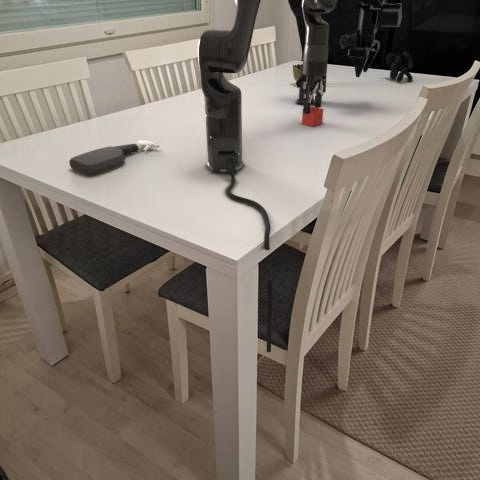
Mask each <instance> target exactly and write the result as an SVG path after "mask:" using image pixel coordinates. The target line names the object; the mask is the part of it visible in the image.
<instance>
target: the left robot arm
mask: <svg viewBox="0 0 480 480" xmlns="http://www.w3.org/2000/svg"><path fill="white" fill-rule="evenodd" d="M261 1H262V0H233V3H234V5H235V11H236V12H235V19H234V23H233V26H232V28H231V30H228V29H227V30H225V29H206V30H204V31H203V32H202V33H201V34H200V37H199V39H198V46H197V58H198V59H197V60H198V69H199V77H200V88H201V92H202V94H203V99H204V100H203V101H204V116H205V117H204V118H205V133H206V134H205V135H206V151H207V152H206V153H207V168H208V169H209V170H211V172H212V173H228V174H229V176H230V184H229V186H227V187H226V189H225V193H226V195H227V196H228V197H230V198H231V199H232V200H235V201H238V202H242V203H245V204H249V205H251V206H254V207H255V208H256V209H258V210H259V211H260V212H261V214H262V216H263V219H264V224H265V230H264V238H263V245H264V246H263V247H264V250H265V251H270V249H271V247H270V234H271V222H270V219H269V214H268V212H267V211H266V209H265V208H264V207H263V206H262V205H261V204H260V203H258V202H257V201H255V200H253V199H250V198H247V197H243V196H239V195H236V194H234V193H232V191H231V190H232V189H233V188H234V186H235V185H236V177H235V174H234V173H237V171H239V170H240V169H242V168H243V166H244V160H243V114H242V113H243V109H242V108H243V106H242V105H243V104H242V103H243V102H242V101H243V100H242V99H243V98H242V96H243V95H242V90H241V88H240V87H239V86H237V85H235V84H233V83H232V82H230V81H229V80H228V79H227V78H226V76H225V74H231V75H237V74H240V73H241V72H242V71H243V70H244V68H245V66H246V64H247V61H248V58H249V56H250V55H249V54H250V51H251V45H252V39H253V35H254V29H255V25H256V19H257V16H258V13H259V9H260V5H261ZM337 4H338V0H302V9H303V15H304V21H305V26H306V39H305V48H304V60H303V59H302V64H303V74H304V75H306V76H307V80H306V82H302V83H301V93H300V101H302V102H304V104H302V105H303V107H302V108H303V109H302V114H303V113H304V114H310V107H312V106H311V105H312V104H311V103H310V102H311V99H312V97H313V96H314V101H315V104H313V105H314V106H313V107H316V108H322V103H323V102H322V101H323V96H324V94H326V91H327V73H328V63H329V38H330V25H329V23H328V22H327V21H325V20H324V19H322V14H328V13H331V12H333V11H334V10H335V8H336V6H337ZM303 94H304V97H303ZM266 290H267V291H266V293H267V295H266V296H267V299H266V302H267V308H266V309H267V310H266V352H267V353H271V352H272V329H273V327H272V326H273V324H272V323H273V280H272V279H266Z"/></svg>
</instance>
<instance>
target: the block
mask: <svg viewBox="0 0 480 480" xmlns="http://www.w3.org/2000/svg"><path fill="white" fill-rule="evenodd" d="M323 117H324V109H323V108H322V107H320V108H317V107H315V106H311V107H310V114H304V113H303V112H302V113H301V118H302V119H301V124H302V125H306V126H310V127H316V126H319V125H321V124H323V119H324V118H323Z"/></svg>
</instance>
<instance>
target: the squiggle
mask: <svg viewBox="0 0 480 480" xmlns="http://www.w3.org/2000/svg"><path fill="white" fill-rule="evenodd" d="M401 57H402V59H401ZM391 59H392V60H391ZM393 60H394V61H393ZM385 61H386V64H387V67H390V68H391V70H390V72H389V78H390V79H391V80H395V79H396V81H397V82H399V83H400V82H402V81H403V79H404V76H406V78H407V80H408V81H412V80H413V79H414V77H413V75H412V74H411V73H410V72H409V71H410V70H412V69H413V68H414V64H413V61H412V57H411V54H410V53H409V52H408V51H403V53H402V54H401V55H396V54H394V53H392V52H390V53H387V55H386V57H385ZM406 62H407V65H408V66H407V67H405V66H404V65H405V64H406ZM400 70H401V71H400Z"/></svg>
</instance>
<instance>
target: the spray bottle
mask: <svg viewBox="0 0 480 480" xmlns="http://www.w3.org/2000/svg"><path fill="white" fill-rule="evenodd" d="M159 148H160V145H159V144H158V143H155V142H151V141H148V140H144V139H139V140H138V141H137V142H135V143H129V144H128V143H126V144H122V145H113V146H105V147H100V148H97V149H94V150H90V151H87V152H83V153H81V154H78V155H74V156H73V157H70V159H69V161H68V162H69V167H70V168H71V169H72V170H74V171H75V172H78V173H81V174H83V175H85V176H89V177H90V176H91V177H92V176H95V175H99V174H102V173H105V172H107V171H110V170H113V169H116V168H118V167H120V166H122V165H123V164H124V163H125V158H126V156H127V155H131V154H133V153H138V151H140V150H143V151H144V152H146V151H147V150H149V149H159Z"/></svg>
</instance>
